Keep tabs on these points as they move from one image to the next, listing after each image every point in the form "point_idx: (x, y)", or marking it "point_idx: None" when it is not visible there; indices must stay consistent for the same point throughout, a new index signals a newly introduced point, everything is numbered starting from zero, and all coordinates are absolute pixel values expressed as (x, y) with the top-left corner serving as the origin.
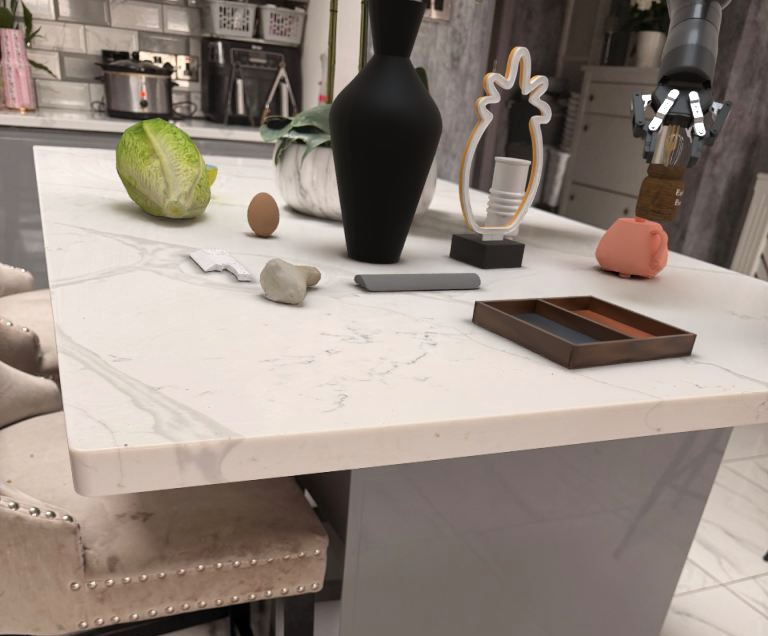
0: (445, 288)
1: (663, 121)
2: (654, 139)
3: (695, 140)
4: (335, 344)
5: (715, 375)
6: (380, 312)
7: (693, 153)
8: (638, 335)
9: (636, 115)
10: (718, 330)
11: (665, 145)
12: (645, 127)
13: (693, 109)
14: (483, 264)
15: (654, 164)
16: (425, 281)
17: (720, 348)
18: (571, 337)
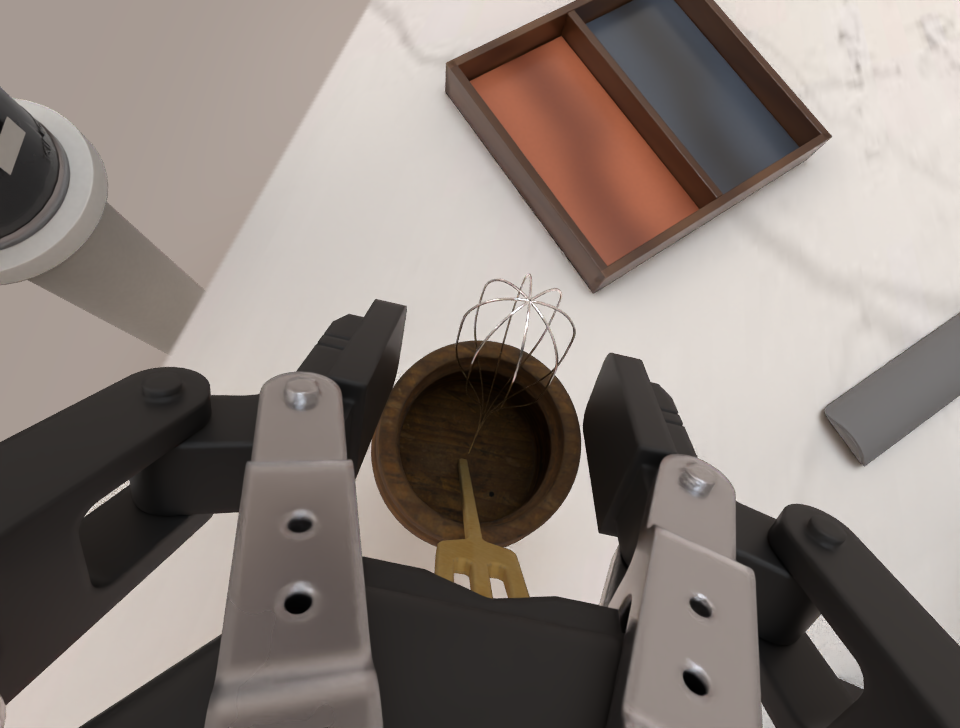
0: (886, 365)
1: (620, 593)
2: (641, 405)
3: (361, 358)
4: (953, 5)
5: (436, 12)
6: (948, 162)
7: (385, 312)
8: (528, 131)
9: (906, 592)
10: (308, 279)
11: (511, 557)
12: (745, 522)
13: (345, 556)
14: (844, 682)
15: (542, 499)
16: (937, 345)
17: (364, 150)
18: (652, 84)
